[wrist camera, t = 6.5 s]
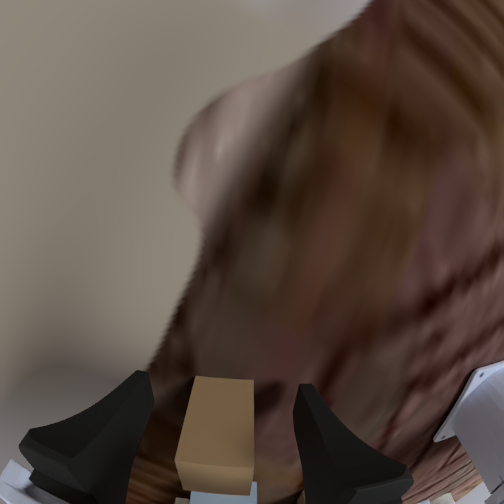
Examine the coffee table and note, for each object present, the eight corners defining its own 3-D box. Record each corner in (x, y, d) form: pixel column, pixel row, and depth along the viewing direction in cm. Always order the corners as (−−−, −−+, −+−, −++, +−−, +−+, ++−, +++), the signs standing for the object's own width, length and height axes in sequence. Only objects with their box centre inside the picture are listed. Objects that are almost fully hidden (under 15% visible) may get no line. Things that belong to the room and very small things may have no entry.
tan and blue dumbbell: (273, 380, 13) (281, 467, 8) (252, 501, 18) (252, 548, 13) (176, 373, 13) (149, 455, 8) (198, 498, 18) (192, 543, 13)
